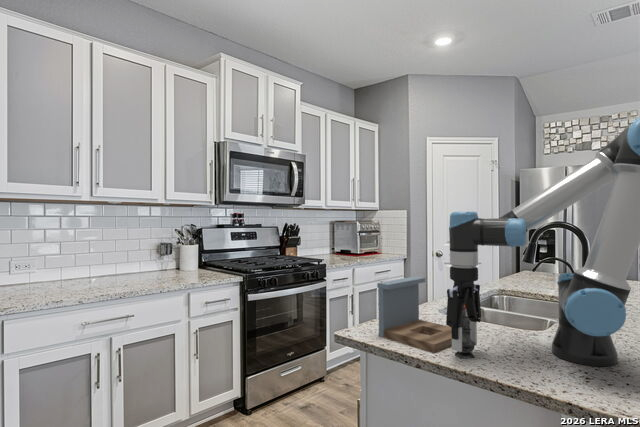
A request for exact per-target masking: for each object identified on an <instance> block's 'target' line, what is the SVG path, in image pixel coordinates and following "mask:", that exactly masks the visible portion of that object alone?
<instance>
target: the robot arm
mask: <svg viewBox="0 0 640 427" xmlns="http://www.w3.org/2000/svg"><path fill="white" fill-rule="evenodd" d="M614 181H615V182H614ZM611 182H614V184H613V187H612V190H611V192H610V195H609V197H608V201H607V203H606V206H605V209H604V210H603V215H602V217H601V219H600V223H599V225H598V228H597V230H596V233H595V236H594V239H593V242H592V244H591V247H590V249H589V252H588V255H587V257H586V261H585V264H584V266H583V267H580V268H577V269H575V270H574V273H569V272H562V273H559V275H558V279H557V281H556V282H557V286H558V293H557V294H558V326H557V328H556V332H555V335H554V336H553V340H552V343H551V352H552V354H553V355H555V357H558V358H560V359H562V360H564V361H567V362H571V363H575V364H580V365H586V366H594V367H610V366H614V365H617V364H618V360H619V359H618V358H619V357H618V356H619V355H618V352H617V349H616V346H615V343H614V341H613V337H612V336H611V335H613V334H615V333H617V332H618V331H620V330H621V329H622V327H623V326H624V324H625V322H626V319H627V310H626V307H625V306H626V303H627V300H628V298H629V296H630V293H631V290H632V288H631V286H630V285H629V283H628V281H627V277H628V275H629V273H630V270H631V267H632V264H633V262H634V259H635V256H636V254H637V252H638V249H639V248H640V247H639V246H640V116H639V117H638V118H636V119H635V120H634V121H633V122H632V123H631V124H629V126H627V127H625V128H624V130H622V131H621V132H620V133H618V135H617V136H616V137H615V138H614V139H613V140H611V141H610V142H609V143H608V144H607V145H605V146H604V147H603V148H601V149H599V150H598V151H597V152H595V156H594V158H591V160H589V161H587V162H586V163H584V164H583V165H581V166H580V167H578V168H576V169H575V170H573V171H572V172H569V174H567V175H565V176H564V177H562V178H561V179H559V180H558V181H556V182H555V183H553V184H550V185H549V186H548V187H546V188H544V189H543V190H542V191H540V192H538V193H537V194H535V195H533V196H532V197H531V198H529V199H527V200H526V201H524V202H523V203H521V204H520V205H518V206H516V207H514V208H513V209H512V210H510V211H509V212H507V213H505V214H503V215H502V216H500V217H498V218H481V217H479V216H478V213H477V211H453V212H451V213H450V214H449V227H448V233H449V234H448V236H449V237H448V238H449V255H448V256H449V264H450V265H451V266H450V267H449V278H450V280H451V281H453V286H452V288H447V290H446V296H447V304H446V317H445V319H446V321H445V324H446V325H445V326H448V327H449V326H451V332H452V346H451V350H452V351H455V352H458V351H459V352H462V328H461V327H460V324H461V318H462V313H463V307H464V304H465V307H466V316H467V317H468V318H469V319H470V329H471V331H470V339H471V341H473V342H475V343H476V345H475V346H477V345H478V332H477V331H478V329H477V328H478V326H477V325H478V323H481V321H482V320H481V318H482V308H481V307H482V306H481V297H480V291H481V290H480V289H481V285H480V284H476V283H475V282H478V280H479V268H478V267H477V266H479V247H478V246H487V247H488V246H491V247H510V248H514V247H515V248H516V247H525V245H526V243H527V232H529V231H530V230H532V229H534V228H536V227H537V226H539V225H541V224H543V223H544V222H546V221H548V220H549V219H551V218H552V217H554V216H556V215H558V214H559V213H561V212H562V211H565V210H566V209H567V208H569V207H571V206H573V205H574V204H576V203H577V202H580V201H582V200H583V199H584V198H586V197H588V196H590V195H591V194H593V193H594V192H596V191H598V190H599V189H601V188H603V187H604V186H607V185H608V184H610V183H611ZM459 299H460V300H459ZM475 346H474V347H475Z"/></svg>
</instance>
